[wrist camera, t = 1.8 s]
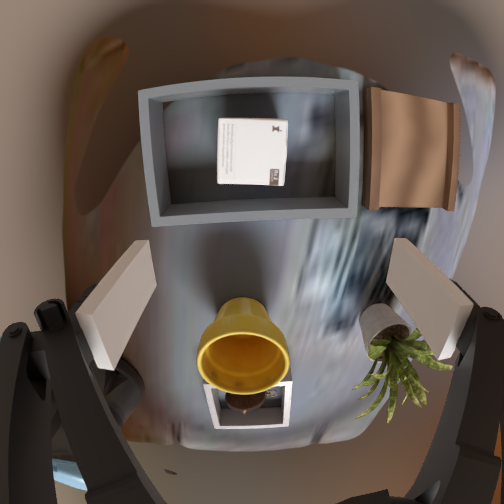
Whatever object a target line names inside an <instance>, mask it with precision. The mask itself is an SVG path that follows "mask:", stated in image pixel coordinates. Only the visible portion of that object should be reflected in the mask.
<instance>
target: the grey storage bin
mask: <svg viewBox="0 0 504 504" xmlns="http://www.w3.org/2000/svg"><path fill="white" fill-rule="evenodd" d="M248 93H317V94H334V95H335V131H336V170H335V197H294V198H265V199H243V200H225V201H208V202H194V203H181V204H171V197H170V188H169V179H168V169H167V159H166V148H165V135H164V122H163V107H162V102H166V101H173V100H180V99H188V98H197V97H206V96H217V95H230V94H248ZM138 99H139V100H138V101H139V116H140V131H141V143H142V153H143V163H144V172H145V180H146V188H147V196H148V203H149V210H150V217H151V223H152V227H159V226H173V225H188V224H204V223H222V222H241V221H262V220H287V219H316V218H357V206H358V187H359V153H360V122H359V89H358V81H353V80H343V79H331V78H315V77H243V78H227V79H214V80H204V81H195V82H187V83H180V84H173V85H166V86H161V87H154V88H149V89H144V90H139V91H138Z"/></svg>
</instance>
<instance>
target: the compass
mask: <svg viewBox="0 0 504 504" xmlns="http://www.w3.org/2000/svg"><path fill="white" fill-rule="evenodd" d="M270 391H276V390H270ZM270 391H268V392H269V393H268V392H266V391H263V392H260V393H255V394H233V393H228V392H227V393H226V395H225V399H226V403H227V405H228V406H229V407H230V408H231V409H233V410H234V411H238V412H243V413H244V414H245V413H246V412H249V411H253V410H255V409H257V408H259V407H260V406H261V405H262V404H263V403H264V401H265V399H266V396H267V395H268V396H269V395H270ZM276 392H277V391H276ZM277 394H278V392H277ZM277 394H276V395H277ZM276 395H275V396H276ZM270 397H274V396H270Z"/></svg>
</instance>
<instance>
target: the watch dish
mask: <svg viewBox="0 0 504 504" xmlns="http://www.w3.org/2000/svg"><path fill="white" fill-rule="evenodd" d="M203 385H204V390H205V394H206V398H207V401H208V405H209V409H210V413H211V417H212V420H213V424H214V428H215V429H249V428H271V427H286V426H289V415H290V404H291V391H292V376H291V370H290V364H289V369H288V372H287V373H286V375H285V377H284V378H283V379H282V380H281V381H280V382H279V383H278V384H277V385H275V386H274V387H276V386H282V400H281V407H270V408H257V409H255V410H253V411H249V412H246V413H245V414H244V413H243V412H238V411H234V410H233V409H221V407H220V402H219V397H218V393H217V388H215V387H214V386H212V385H210V384H209V383H208V382H207V381H206V380H205V379H204V382H203Z"/></svg>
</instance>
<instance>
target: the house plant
mask: <svg viewBox="0 0 504 504" xmlns="http://www.w3.org/2000/svg"><path fill="white" fill-rule="evenodd" d="M360 327H361V331H362V335H363V340H364V344H365V349H366V353H367V356H368V358H369V359H370V360H372V361H374V364H373V366H372V368H371V370H370V371H369V373H368V375H367V376H366V377H365V379H364V380H363V381H362V382H361V383H360V384H359V385H358V386H356V387H354V388H353V389H356V388H359V387H361V386H362V385H371V384H373V383H375V384H374V385H373V387H372V388H371V389H370V391H369V392H368V393H367V394H366V395H364V396H362V397H360V398H359V399H362V398H365V397H367V396H369V395H370V394H371V393H372V392H373V391H374V390H375V389H376V387H377V385H378V383H379V381H380V379H384V378H385V377H386V378H385V382H384V385H383V387H382V390H381V392H380V394H379V396H378V397H377V399H376V400H375V401H374V403H373V404H372V405H371V407H370V408H369V409H368V410H367V411H365V412H364V413H362V414H361V415H359V416H358V417H357V418H359V417H361V416H364V415H366V414H367V413H369V412H371V411H372V410H373V409H374V408H376V407H377V405H378V404H379V403H380V402H381V400H382V398H383V397H384V395H385V392H386V389H387V385H388V386H389V387H390V397H389V407H388V411H387V412H389V416H388V420H387V423H389V421H390V420H391V418H392V416H393V413H394V410H395V406H396V400H397V392H398V384H397V383H398V381H399V378H400V380H401V384H402V385H403V387H404V389H405V392H406V393H407V395H406V397H405V399H406V398H407V396H408V397H409V398H410V399H411V400H412V401H413V402H414V403H415V404H416V405H418V406H420V407H421V405H420V403H419V401H418V400H417V398H416V397H415V396H417V397H418V398H419V399H420V400H421V401H422V403H424V404H427V401H426V395H425V392H429V391H427V390H426V389H424V388H423V387H422V385H421V382H420V380H419V377H418V375H417V372H416V371H415V370H414V368H413V367H412V365H411V363H410V361H409V360H408V357H411V358H413V359H415V360H417V361H419V362H420V363H422V364H424V365H426V366H428V367H430V368H433V369H436V370H451V368H452V367H453V366H451V365H446V364H443V363H440V362H438V361H435V360H434V359H433V358H432V357H431V356H430V355H434V353H433V352H432V351H427V350H425V349H428V348H430V347H429V345H428V344H427V342H426V341H414V340H416V339H418V338H419V337H420V336H422V334H421V333H420V331H419V330H418V328H416V329H415V330H414V331H413V330H412V328H411V327H410V325H408V324H407V323H406V322H405V321H404V320H403V319H402V318H401V317H400V316H399V315H398V314H397V313H396V312H394V311H393V310H392V309H391V308H390V307H389V306H388V305H386V304H382V303H379V304H373V305H371V306H369V307H368V308H367V309H365V311H364V312H363V313H362V315H361V317H360ZM409 347H411V348H409ZM412 348H413V349H412ZM377 362H378V363H382V364H381V366H380V368H379V370H378V372H377V373H376V374H372V373H373V371H374V369H375V366H376V364H377ZM386 365H388V369H387V373H384V374H383V372H384V370H385V367H386ZM371 376H373V377H372V378H371V379H369V378H370V377H371ZM398 376H399V377H398ZM353 389H352V390H353ZM424 391H425V392H424ZM359 399H358V400H359ZM405 399H404V401H405ZM404 401H403V402H404ZM355 419H356V418H355Z"/></svg>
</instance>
